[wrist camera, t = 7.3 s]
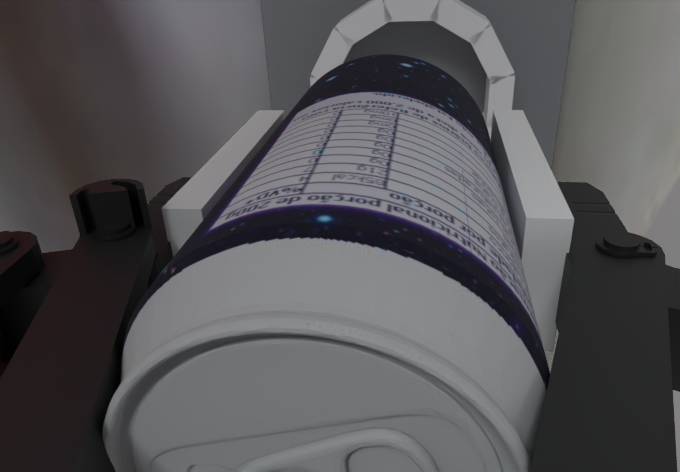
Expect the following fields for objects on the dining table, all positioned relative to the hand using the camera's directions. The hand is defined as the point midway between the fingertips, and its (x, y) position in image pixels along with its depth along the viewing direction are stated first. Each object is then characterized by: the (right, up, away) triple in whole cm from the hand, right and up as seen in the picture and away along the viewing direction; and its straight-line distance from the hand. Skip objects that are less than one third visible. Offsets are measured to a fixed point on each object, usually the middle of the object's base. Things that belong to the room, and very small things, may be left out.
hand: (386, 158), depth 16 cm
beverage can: (0, +1, +1) cm, 1 cm away
